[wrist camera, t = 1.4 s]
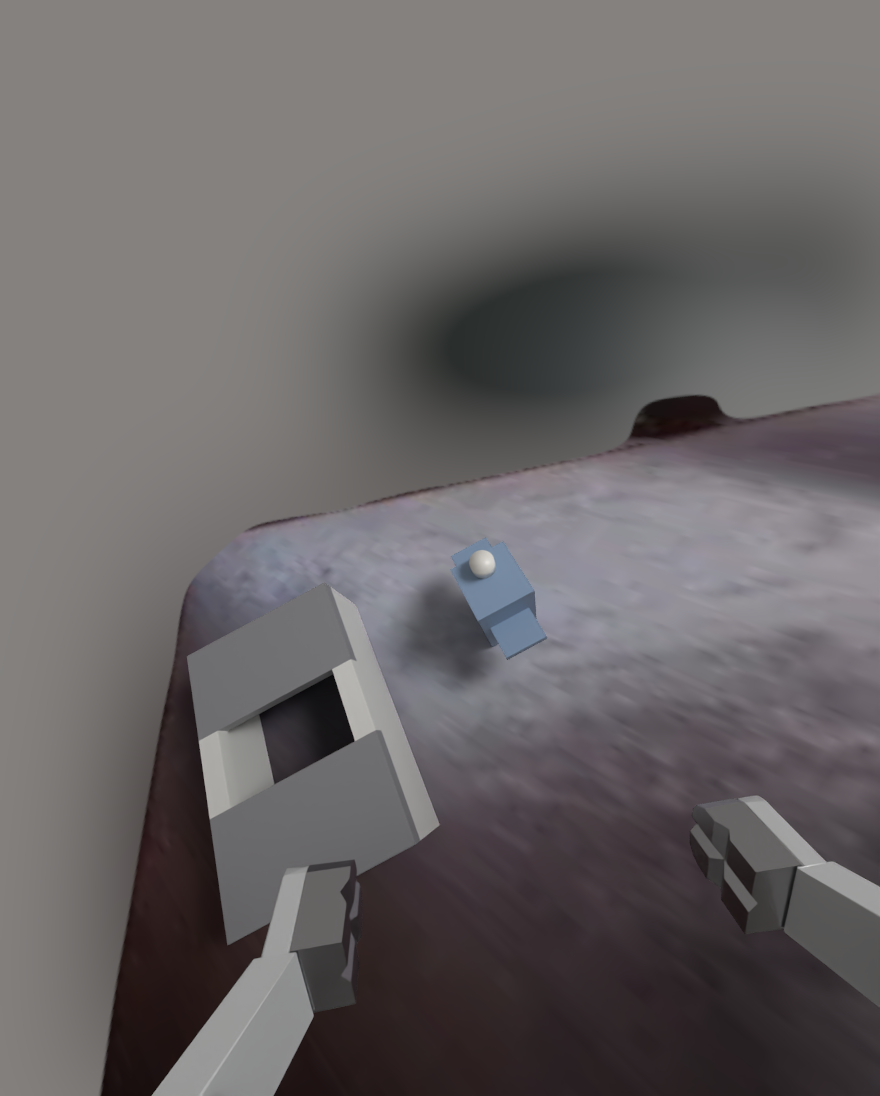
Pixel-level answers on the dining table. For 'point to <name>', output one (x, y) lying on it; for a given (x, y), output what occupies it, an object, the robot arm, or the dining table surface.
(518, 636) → the block
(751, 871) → the robot arm
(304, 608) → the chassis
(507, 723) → the dining table surface
